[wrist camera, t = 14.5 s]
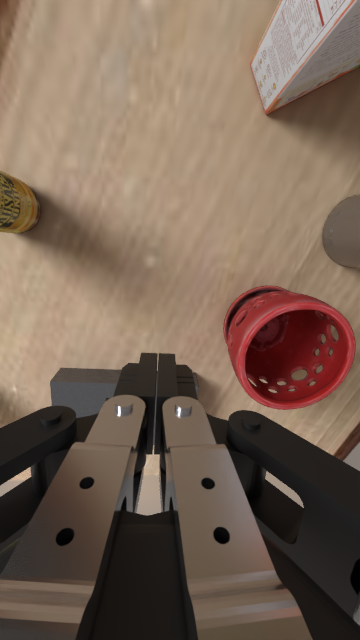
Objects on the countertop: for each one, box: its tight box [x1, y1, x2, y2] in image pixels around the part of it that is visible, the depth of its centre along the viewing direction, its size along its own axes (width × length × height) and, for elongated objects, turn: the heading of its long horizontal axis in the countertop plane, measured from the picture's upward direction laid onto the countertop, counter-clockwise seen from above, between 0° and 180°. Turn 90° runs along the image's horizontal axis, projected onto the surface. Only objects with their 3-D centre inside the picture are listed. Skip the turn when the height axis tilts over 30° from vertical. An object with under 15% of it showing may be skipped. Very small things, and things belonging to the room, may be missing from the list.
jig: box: [50, 368, 198, 445], centre depth 41 cm, size 20×10×4 cm, turn 86°
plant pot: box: [223, 286, 355, 410], centre depth 35 cm, size 13×13×12 cm
